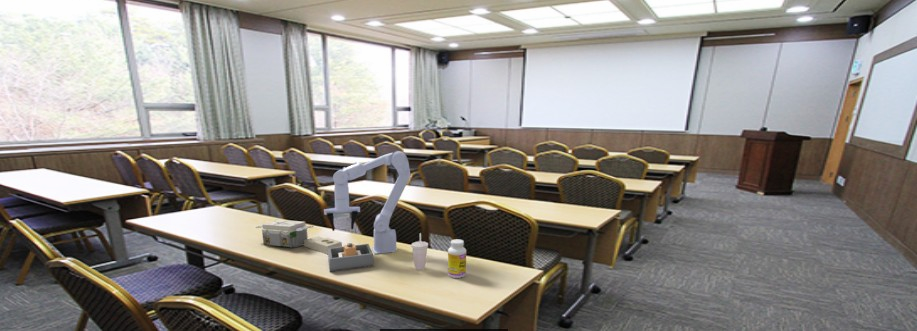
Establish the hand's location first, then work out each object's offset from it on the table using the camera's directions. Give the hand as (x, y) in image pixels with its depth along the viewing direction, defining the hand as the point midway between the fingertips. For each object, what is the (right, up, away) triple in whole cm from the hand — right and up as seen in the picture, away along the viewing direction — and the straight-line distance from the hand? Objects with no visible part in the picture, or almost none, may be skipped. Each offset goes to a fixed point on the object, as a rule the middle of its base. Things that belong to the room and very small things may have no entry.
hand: (342, 229), depth 161 cm
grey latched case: (-30, -9, +12) cm, 34 cm away
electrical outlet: (-11, -10, +6) cm, 16 cm away
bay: (+7, -11, -12) cm, 18 cm away
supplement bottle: (+49, -13, -22) cm, 55 cm away
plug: (+6, -11, -11) cm, 17 cm away
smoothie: (+35, -12, -16) cm, 40 cm away
